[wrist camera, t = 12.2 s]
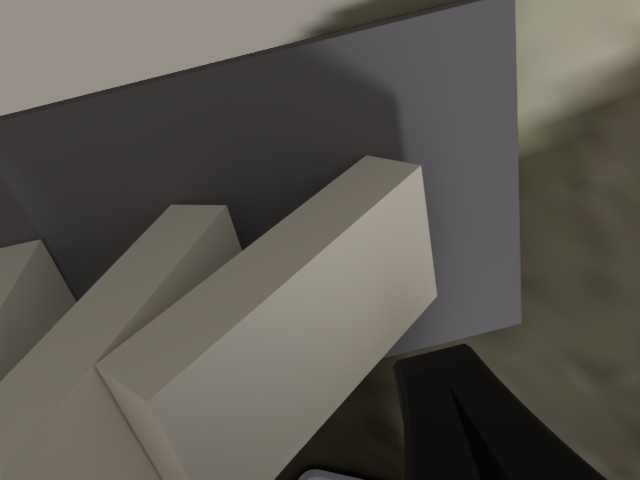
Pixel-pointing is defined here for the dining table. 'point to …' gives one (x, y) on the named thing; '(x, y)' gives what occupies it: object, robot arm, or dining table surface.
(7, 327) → the domino
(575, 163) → the dining table surface
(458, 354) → the robot arm
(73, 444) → the domino
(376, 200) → the beige rectangular block
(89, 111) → the domino mat
